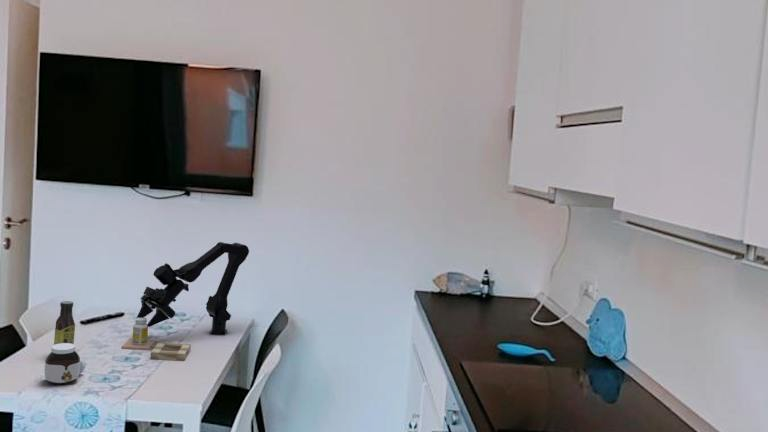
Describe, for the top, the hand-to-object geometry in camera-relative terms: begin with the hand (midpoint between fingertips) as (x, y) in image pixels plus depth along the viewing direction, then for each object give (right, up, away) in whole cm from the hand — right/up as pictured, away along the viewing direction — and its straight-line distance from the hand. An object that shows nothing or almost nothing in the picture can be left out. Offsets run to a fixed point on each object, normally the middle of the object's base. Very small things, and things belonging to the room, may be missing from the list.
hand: (142, 323), depth 241 cm
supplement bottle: (-1, -8, 0) cm, 8 cm away
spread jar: (-10, -12, -38) cm, 41 cm away
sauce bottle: (-20, -9, -20) cm, 30 cm away
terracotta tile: (-1, -9, 0) cm, 9 cm away
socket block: (+13, -11, -6) cm, 18 cm away
